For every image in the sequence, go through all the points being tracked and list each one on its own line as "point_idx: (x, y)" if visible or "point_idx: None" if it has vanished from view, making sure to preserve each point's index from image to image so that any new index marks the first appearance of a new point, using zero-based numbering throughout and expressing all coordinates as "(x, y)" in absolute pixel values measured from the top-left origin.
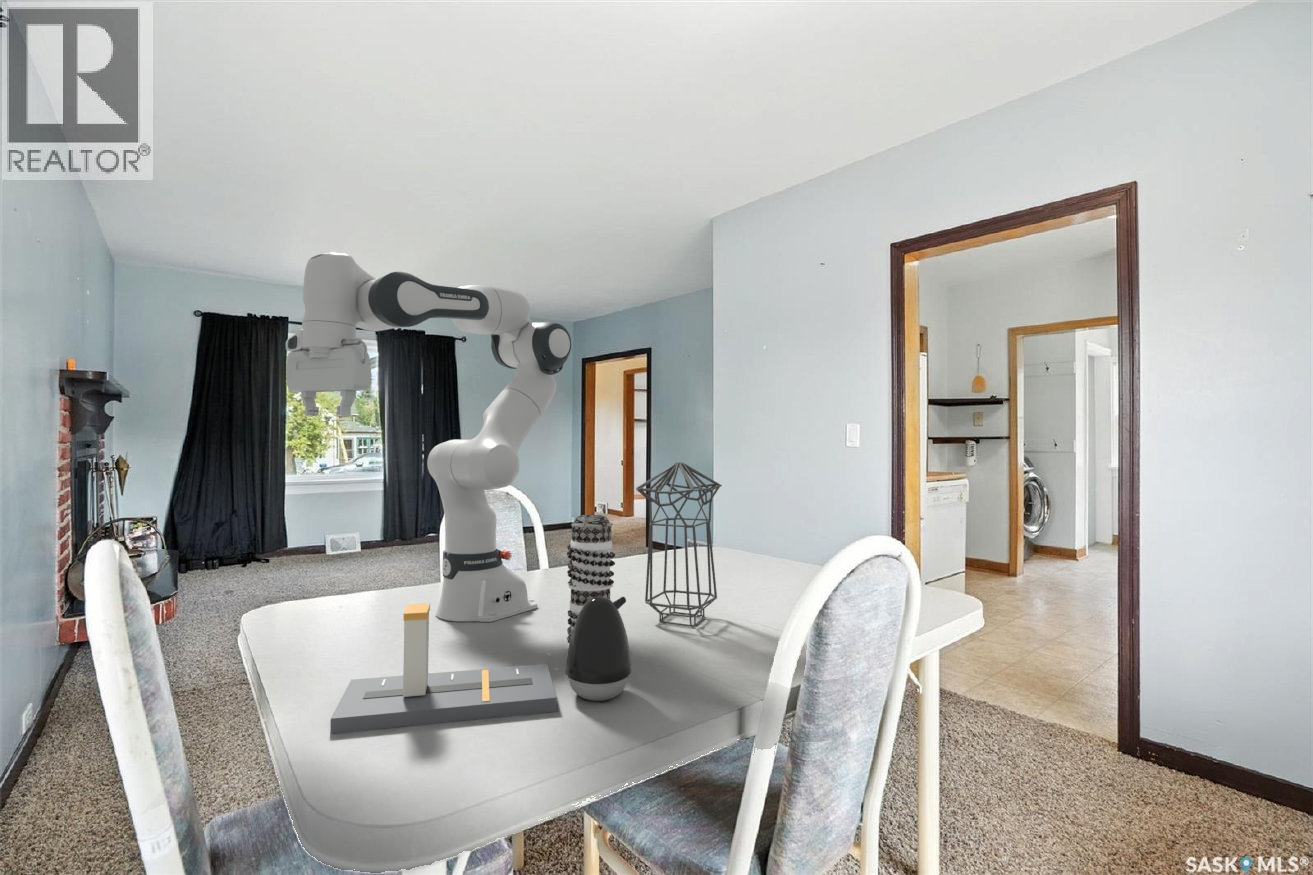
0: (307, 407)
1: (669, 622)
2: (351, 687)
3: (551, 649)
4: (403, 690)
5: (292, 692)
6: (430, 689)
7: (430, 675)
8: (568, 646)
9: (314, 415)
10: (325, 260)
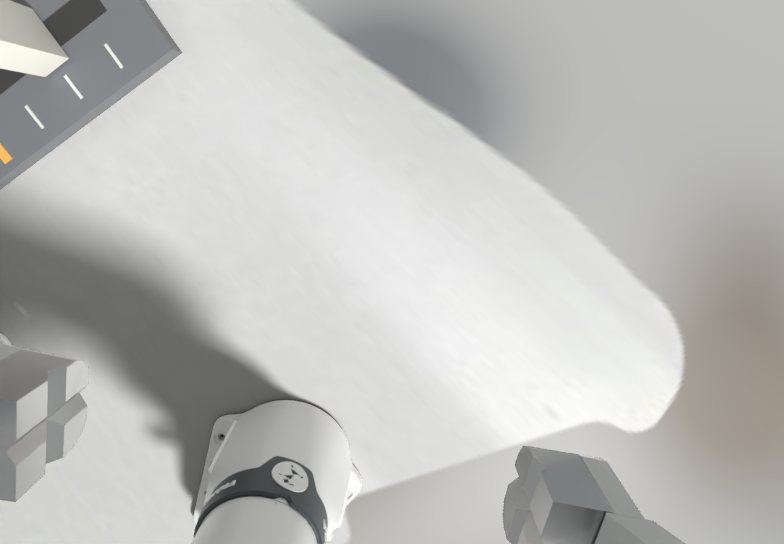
0: (591, 499)
1: None
2: (144, 20)
3: (31, 329)
4: (24, 6)
5: (267, 20)
6: None
7: (71, 111)
8: (5, 342)
9: (515, 484)
10: None
